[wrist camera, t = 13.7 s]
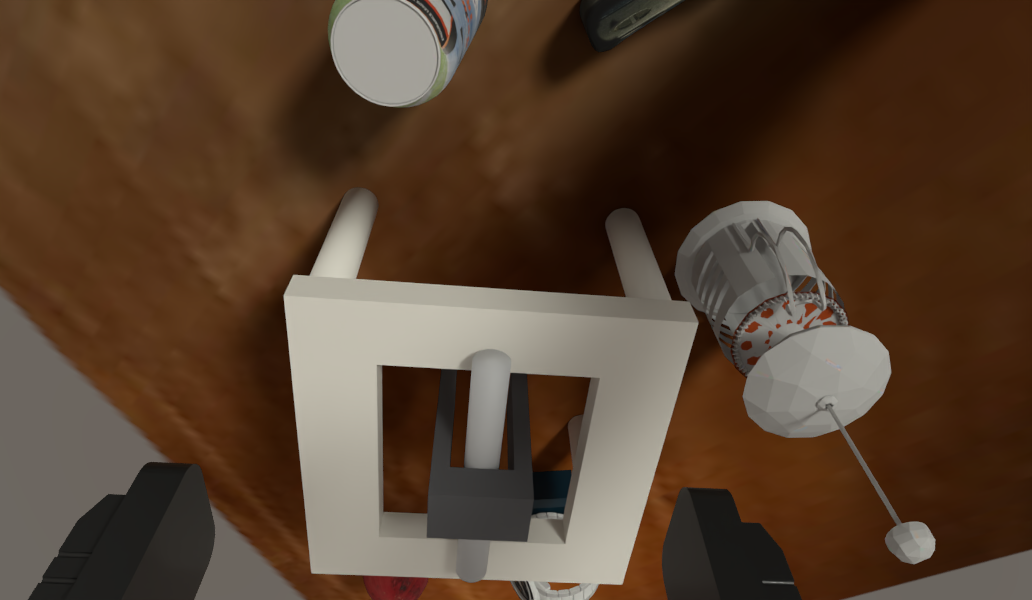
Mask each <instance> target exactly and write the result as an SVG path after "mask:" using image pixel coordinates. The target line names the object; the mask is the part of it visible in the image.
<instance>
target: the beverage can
mask: <svg viewBox="0 0 1032 600" xmlns="http://www.w3.org/2000/svg"><path fill="white" fill-rule="evenodd" d="M487 2H488V0H335V2H334V4H333V6H332V10H331V13H330V16H329V23H328V40H329V45H330V50H331V53H332V57H333V60H334V63H335V66H336V68H337V70H338V72H339V74H340V75H341V77H342V78H343V80H344V81H345V82H346V84H347V85H348V86H349V87H350V88H351V89H352V90H353V91H354V92H355V93H357V94H358V95H360V96H361V97H362V98H364V99H366V100H368V101H370V102H372V103H375V104H378V105H383V106H389V107H411V106H417V105H420V104H422V103H425V102H428V101H429V100H431V99H432V98H434V97H436V96H437V95H438V94H439V93H440V92H441V91H442V90H443V89H444V88H445V87H446V86H447V84H448V83H449V82H450V80H451V79H452V77H453V75H454V73H455V71H456V69H457V67H458V66H459V64H460V62H461V60H462V58H463V56H464V54H465V52H466V51H467V49H468V47H469V45H470V43H471V41H472V39H473V37H474V35H475V34H476V32H477V30H478V28H479V26H480V24H481V22H482V20H483V18H484V16H485V12H486V8H487Z"/></svg>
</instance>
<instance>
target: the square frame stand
mask: <svg viewBox="0 0 1032 600" xmlns="http://www.w3.org/2000/svg"><path fill="white" fill-rule="evenodd" d="M377 211H378V200H377V198H376V196H375V195H374V194H373V193H372V192H371V191H369V190H368V189H365V188H361V187H357V188H352V189H350V190H348V191H347V192H346V193H345V195H344V197H343V199H342V201H341V204H340V206H339V208H338V211H337V213H336V215H335V218H334V220H333V222H332V225H331V227H330V229H329V232H328V234H327V236H326V239H325V241H324V243H323V246H322V248H321V250H320V253H319V255H318V257H317V260H316V262H315V264H314V267H313V269H312V271H311V273H310V276H304V275H293V277H292V279H291V281H290V283H289V285H288V287H287V289H286V292H285V294H284V305H285V315H286V325H287V335H288V345H289V355H290V365H291V375H292V385H293V395H294V405H295V415H296V425H297V435H298V445H299V455H300V465H301V475H302V485H303V494H304V504H305V514H306V524H307V534H308V544H309V554H310V564H311V573H315V574H342V575H370V576H398V577H426V578H454V579H462V580H463V581H466V582H471V583H472V582H477V581H480V580H481V579H482V580H509V581H537V582H565V583H593V584H621V585H622V583H623V580H624V576H625V573H626V570H627V566H628V563H629V559H630V556H631V552H632V549H633V546H634V542H635V539H636V535H637V532H638V529H639V525H640V522H641V518H642V515H643V511H644V508H645V505H646V501H647V498H648V494H649V491H650V488H651V484H652V481H653V477H654V474H655V470H656V467H657V464H658V460H659V457H660V453H661V450H662V446H663V443H664V440H665V436H666V433H667V429H668V426H669V423H670V419H671V416H672V412H673V409H674V405H675V402H676V399H677V395H678V392H679V388H680V385H681V382H682V378H683V375H684V371H685V368H686V364H687V361H688V358H689V354H690V351H691V347H692V344H693V340H694V337H695V334H696V330H697V327H698V320H697V318H696V316H695V313H694V311H693V309H692V306H691V304H690V302H687V301H672V300H671V297H670V295H669V292H668V290H667V287H666V285H665V282H664V280H663V277H662V274H661V272H660V269H659V267H658V264H657V262H656V259H655V257H654V254H653V252H652V249H651V247H650V244H649V241H648V239H647V236H646V234H645V231H644V229H643V226H642V224H641V221H640V219H639V216H638V215H637V213H636V212H635V211H633V210H631V209H628V208H620V209H617V210H615V211H613V212H612V213H611V214H610V215H609V216H608V217H607V219H606V223H605V227H606V231H607V234H608V238H609V241H610V245H611V248H612V251H613V255H614V258H615V261H616V265H617V268H618V272H619V275H620V278H621V282H622V285H623V289H624V292H625V295H626V297H613V296H598V295H584V294H569V293H554V292H539V291H525V290H510V289H495V288H481V287H466V286H451V285H436V284H422V283H407V282H392V281H377V280H363V279H356V276H357V273H358V270H359V267H360V264H361V261H362V258H363V254H364V251H365V248H366V245H367V242H368V239H369V236H370V233H371V229H372V226H373V223H374V220H375V217H376V214H377ZM382 365H389V366H406V367H423V368H440V369H457V370H472V371H471V383H470V396H469V408H468V421H467V434H466V446H465V459H464V468H478V469H499V463H500V454H501V446H502V437H503V429H504V420H505V412H506V404H507V395H508V387H509V378H510V373H525V374H542V375H560V376H577V377H591V381H590V386H589V391H588V396H587V401H586V406H585V411H584V415H578V416H575V417H573V418H572V419H571V420H570V421H569V423H568V432H569V440H570V448H571V455H572V463H573V470H572V475H571V480H570V485H569V490H568V495H567V500H566V505H565V510H564V515H563V520H562V519H538V518H531V521H530V528H529V534H528V540H527V542H514V541H490V540H466V539H442V538H427V514H422V513H398V512H383V422H382Z"/></svg>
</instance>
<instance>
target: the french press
mask: <svg viewBox="0 0 1032 600" xmlns="http://www.w3.org/2000/svg"><path fill="white" fill-rule="evenodd" d="M807 275H809V276H811V277H812V278H811V280H810V281H809V283H808V284H807V285H806V286H805V287H804V288H803V289H802V290H801V291H800V292H793V291H794V290H795V289H796V288H797V287H798V286H799V285H800V284H801V283H802V282H803V281H804V279H805V278H806V277H807ZM675 277H676V280H677V283H678V286H679V289H680V292H681V295H682V296H683V297H684V298H685V299H686V300H687V301H688V302H690V303H691V304H692V305H693V306H694V307H695V308H696V309H697V310H699V311H702V312H705V314H706V316H707V318H708V320H709V322H710V325H711V327H712V329H713V331H714V333H715V336H716V338H717V340H718V342H719V344H720V346H721V348H722V351H723V353H724V355H725V357H726V358H727V359H728V360H729V361H731V362H732V363H733V364H734V365H735V368H736V369H737V370H738V371H739V372H740V373H741V374H742V375H743V376H745V377H746V378H747V381H746V385H745V389H744V393H743V400H744V403H745V406H746V409H747V413H748V416H749V417H750V418H751V419H752V420H753V421H755V422H756V423H757V424H758V425H759V426H760V427H761V428H763V429H764V430H765V431H768V432H771V433H774V434H777V435H781V436H784V437H787V438H794V437H816V436H819V435H822V434H825V433H829V432H832V431H835V430H838V429H840V430H841V432H842V433H843V435H844V437H845V438H846V440H847V442H848V444H849V445H850V447H851V449H852V450H853V452H854V454H855V455H856V457H857V459H858V460H859V462H860V464H861V465H862V467H863V469H864V470H865V472H866V474H867V475H868V477H869V479H870V481H871V482H872V484H873V486H874V487H875V489H876V491H877V492H878V494H879V496H880V497H881V499H882V501H883V502H884V504H885V506H886V507H887V509H888V511H889V512H890V514H891V516H892V517H893V519H894V521H895V523H896V524H897V526H896V527H894V528H892V529H891V530H890V531H889V532H888V533H887V536H886V538H885V542H886V545H887V546H888V548H889V550H890V551H891V552H892V553H893V554H894V555H896V556H897V557H898V558H899V559H900V560H901V561H902V562H907V563H911V564H916V563H918V562H921V561H923V560H925V559H928V558H930V557H931V555H932V554H933V552H934V550H935V539H934V537H933V535H932V534H931V532H930V530H929V528H928V527H927V526H926V525H925V524H924V523H921V522H907V523H903V524H902V523H901V521H900V520H899V518H898V516H897V515H896V513H895V511H894V510H893V508H892V506H891V505H890V503H889V501H888V500H887V498H886V496H885V495H884V493H883V491H882V490H881V488H880V486H879V485H878V483H877V482H876V480H875V478H874V477H873V475H872V473H871V472H870V470H869V468H868V467H867V465H866V463H865V462H864V460H863V458H862V457H861V455H860V453H859V452H858V450H857V448H856V447H855V445H854V443H853V442H852V440H851V438H850V437H849V435H848V433H847V432H846V430H845V428H844V426H846V425H847V424H849V423H851V422H852V421H854V420H856V419H857V418H859V417H861V416H862V415H864V414H865V413H866V412H867V411H868V410H869V409H870V408H871V407H872V406H873V405H874V403H875V402H876V401H877V400H878V399H879V398H880V397H881V396H882V395H883V392H884V390H885V387H886V385H887V382H888V380H889V377H890V374H891V367H890V359H889V352H888V351H887V349H886V348H885V347H884V346H883V345H882V344H881V342H880V341H879V340H878V339H877V338H876V337H875V335H873V334H870V333H867V332H865V331H862V330H860V329H857V328H854V327H852V326H850V325H849V320H848V315H847V312H846V311H845V310H844V303H843V301H842V300H841V298H840V297H839V295H838V293H837V292H836V290H835V289H834V287H833V286H832V284H831V283H830V282H829V280H828V279H827V278H826V277H825V276H824V274H823V273H822V271H821V270H820V269H819V268H818V267H817V264H816V262H815V259H814V256H813V254H812V251H811V245H810V240H809V235H808V231H807V227H806V226H805V225H804V224H803V223H802V221H801V220H800V219H799V218H798V217H797V216H796V214H795V213H794V212H793V211H792V210H790V209H787V208H785V207H782V206H780V205H777V204H775V203H772V202H770V201H741V202H738V203H735V204H732V205H730V206H727V207H724V208H722V209H719V210H716V211H714V212H712V213H711V214H710V215H709V216H707V217H706V218H705V219H704V220H702V221H701V222H700V223H699V224H697V225H696V226H695V227H694V228H692V229H691V231H690V232H689V234H688V236H687V237H686V239H685V241H684V242H683V244H682V246H681V247H680V249H679V251H678V254H677V261H676V268H675ZM816 282H817V283H818V286H819V289H818V290H817V291H816V292H809V291H810V290H811V289H812V287H813V286H814V285H815V284H816ZM825 282H827V283H828V288H829V296H828V297H827V296H825ZM833 290H834V291H835V293H836V295H837V301H836V300H835V299H833ZM707 314H708V315H707ZM712 318H713V319H714V320H715V322H714V321H712ZM724 318H725V319H726V321H725V320H724ZM721 324H724V325H727V326H729V327H730V330H731V331H730V330H728V329H726V328H723V327H721ZM712 325H714V327H713V326H712ZM720 331H722V332H724V333H726V334H729V335H731V336H733V340H731V339H729V338H727V337H725V336H723V335H721V334H720ZM719 337H720V338H721V339H723V340H724V341H725V342H727V343H730V344H732V345H731V348H729V347H727V346H726V345H725V344H724V343H722V342H721V341H720V340H719Z"/></svg>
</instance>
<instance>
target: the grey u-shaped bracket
mask: <svg viewBox="0 0 1032 600" xmlns="http://www.w3.org/2000/svg"><path fill="white" fill-rule="evenodd" d="M456 377H457V369H441V378H440V388H439V397H438V407H437V416H436V425H435V435H434V444H433V454H432V463H431V472H430V482H429V491H428V512H427V538H442V539H466V540H490V541H514V542H527V540H528V534H529V528H530V521H531V515H532V509H533V502H534V492H533V474H532V457H531V439H530V421H529V404H528V386H527V374H525V373H511V378H510V386H509V395H508V404H507V437H508V470H499V469H478V468H458V467H450V462H451V448H452V435H453V422H454V409H455V393H456Z"/></svg>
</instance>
